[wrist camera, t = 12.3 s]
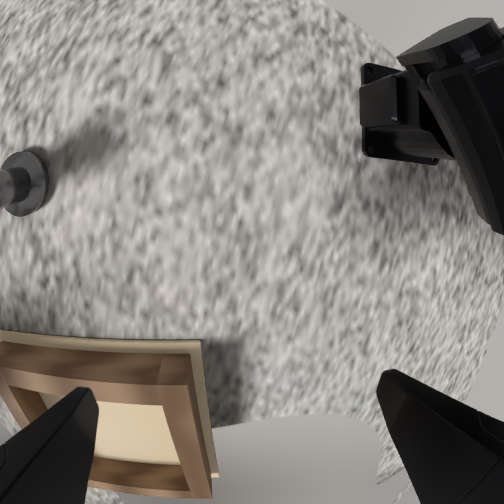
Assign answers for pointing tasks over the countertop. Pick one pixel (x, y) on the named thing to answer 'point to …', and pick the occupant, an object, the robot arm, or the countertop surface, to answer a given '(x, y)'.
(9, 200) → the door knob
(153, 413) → the cork mat
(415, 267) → the countertop surface
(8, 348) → the walnut frame
